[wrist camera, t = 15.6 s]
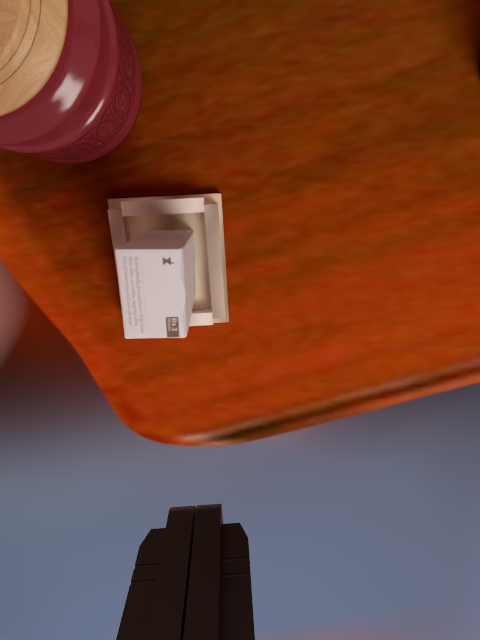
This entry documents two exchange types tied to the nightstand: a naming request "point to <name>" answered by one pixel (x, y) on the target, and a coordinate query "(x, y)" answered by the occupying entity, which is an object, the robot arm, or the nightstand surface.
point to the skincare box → (157, 283)
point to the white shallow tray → (207, 225)
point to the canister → (66, 79)
